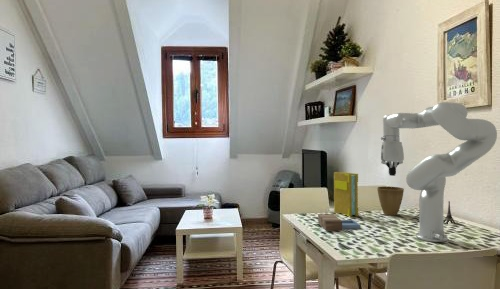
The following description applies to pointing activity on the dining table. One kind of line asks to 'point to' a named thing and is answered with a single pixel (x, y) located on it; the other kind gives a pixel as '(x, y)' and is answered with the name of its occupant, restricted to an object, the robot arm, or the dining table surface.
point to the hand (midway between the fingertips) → (392, 175)
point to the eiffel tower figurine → (449, 216)
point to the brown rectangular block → (330, 222)
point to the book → (346, 193)
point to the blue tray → (350, 224)
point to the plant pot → (390, 199)
